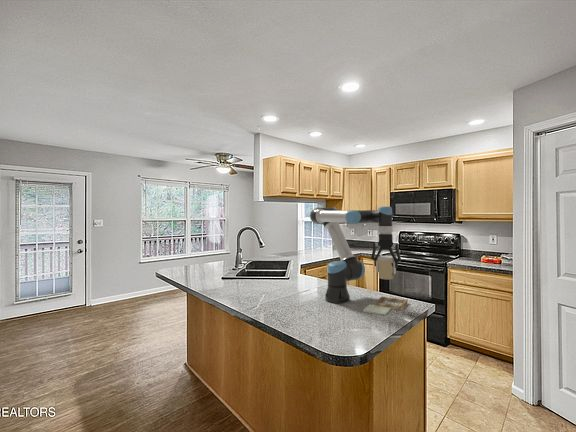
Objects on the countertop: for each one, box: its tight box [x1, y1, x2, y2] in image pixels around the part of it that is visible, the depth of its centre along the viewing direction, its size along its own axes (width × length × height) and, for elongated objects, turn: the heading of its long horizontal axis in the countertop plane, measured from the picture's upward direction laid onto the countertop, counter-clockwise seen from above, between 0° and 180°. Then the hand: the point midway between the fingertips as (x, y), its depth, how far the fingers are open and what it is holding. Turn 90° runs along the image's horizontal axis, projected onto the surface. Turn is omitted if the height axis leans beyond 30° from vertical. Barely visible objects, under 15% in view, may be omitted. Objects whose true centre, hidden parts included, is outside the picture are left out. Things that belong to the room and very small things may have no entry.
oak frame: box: [373, 296, 408, 311], centre depth 168 cm, size 15×15×2 cm
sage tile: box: [362, 303, 392, 316], centre depth 159 cm, size 12×12×1 cm
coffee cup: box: [377, 255, 395, 280], centre depth 166 cm, size 9×9×12 cm
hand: (385, 272), depth 166 cm, fingers closed on coffee cup, 9 cm apart
